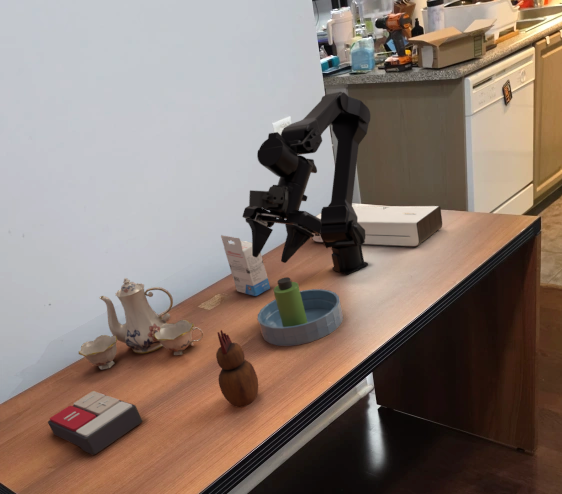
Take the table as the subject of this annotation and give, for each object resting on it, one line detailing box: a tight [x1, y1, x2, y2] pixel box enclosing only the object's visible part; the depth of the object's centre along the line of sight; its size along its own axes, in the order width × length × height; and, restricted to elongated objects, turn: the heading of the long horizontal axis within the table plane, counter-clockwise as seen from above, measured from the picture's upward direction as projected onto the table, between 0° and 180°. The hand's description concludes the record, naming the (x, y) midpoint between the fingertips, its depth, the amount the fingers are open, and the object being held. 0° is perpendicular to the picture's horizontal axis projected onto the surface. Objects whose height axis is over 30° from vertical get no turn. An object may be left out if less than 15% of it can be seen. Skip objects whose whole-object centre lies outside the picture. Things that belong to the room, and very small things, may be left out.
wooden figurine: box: [215, 329, 259, 408], centre depth 112 cm, size 7×6×15 cm
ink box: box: [220, 234, 271, 297], centre depth 156 cm, size 8×5×15 cm, turn 39°
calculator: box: [47, 390, 143, 456], centre depth 119 cm, size 11×4×15 cm
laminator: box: [311, 205, 443, 248], centre depth 169 cm, size 34×12×6 cm, turn 49°
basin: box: [256, 288, 344, 347], centre depth 134 cm, size 17×17×4 cm
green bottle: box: [273, 276, 308, 327], centre depth 129 cm, size 5×5×12 cm
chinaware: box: [78, 277, 204, 370], centre depth 140 cm, size 28×17×17 cm, turn 91°
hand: (268, 259), depth 134 cm, fingers open, 9 cm apart
